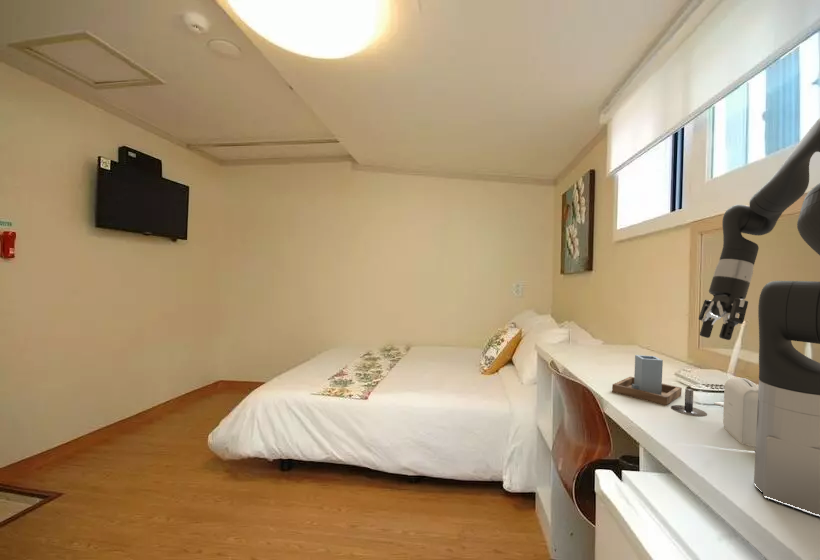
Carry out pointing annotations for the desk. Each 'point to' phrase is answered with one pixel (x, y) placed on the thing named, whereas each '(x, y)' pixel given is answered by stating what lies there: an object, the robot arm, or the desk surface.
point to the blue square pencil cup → (648, 374)
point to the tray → (665, 398)
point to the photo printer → (741, 409)
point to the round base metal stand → (688, 406)
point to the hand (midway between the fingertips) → (713, 337)
